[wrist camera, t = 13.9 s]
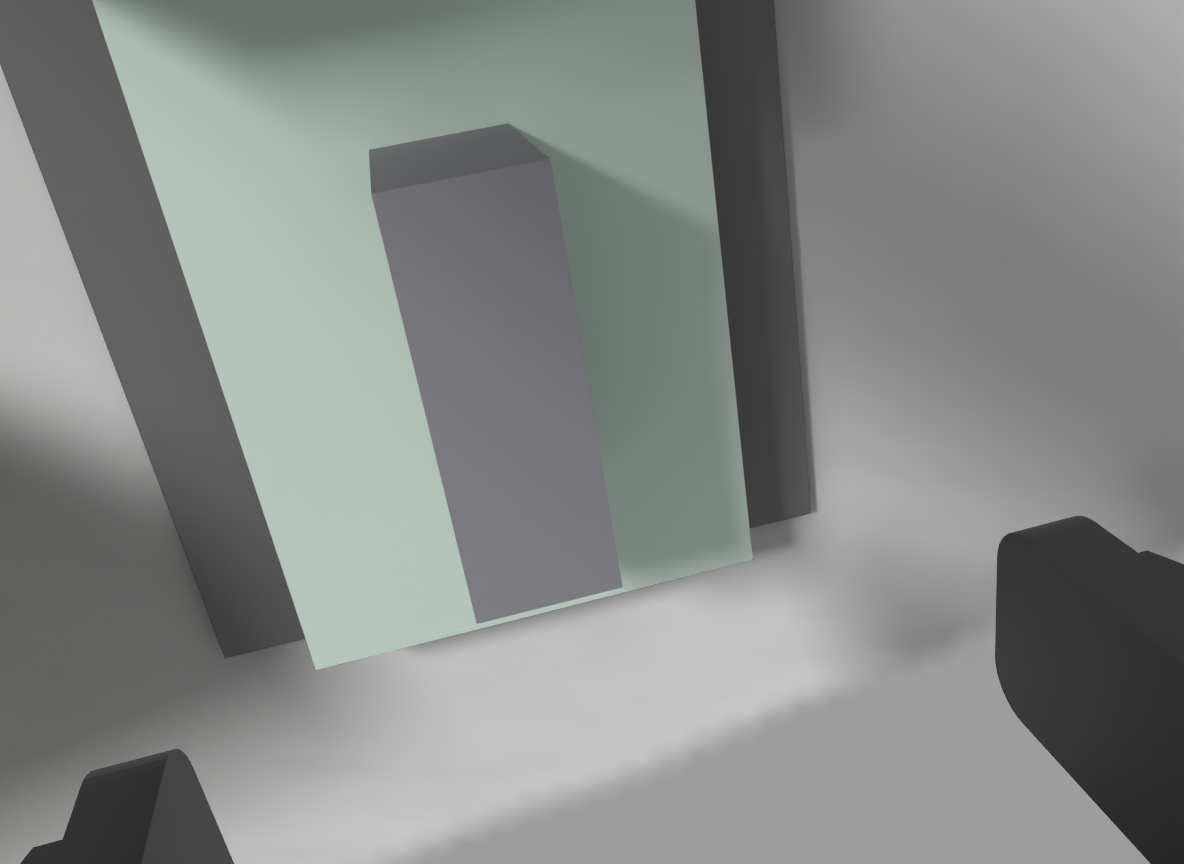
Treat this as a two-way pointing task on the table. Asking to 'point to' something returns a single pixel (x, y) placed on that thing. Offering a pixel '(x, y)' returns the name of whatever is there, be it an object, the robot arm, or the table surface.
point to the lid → (452, 294)
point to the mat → (180, 352)
